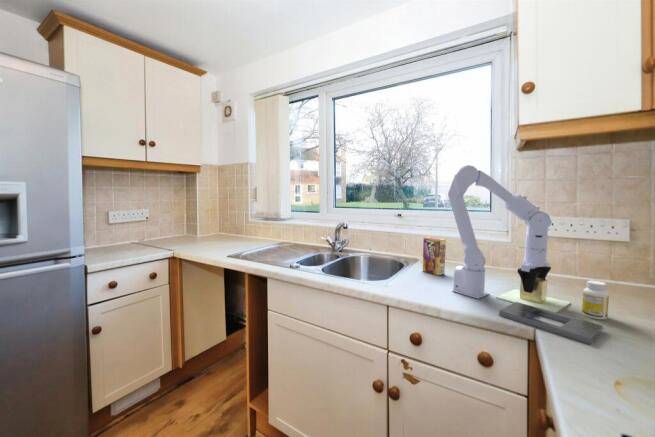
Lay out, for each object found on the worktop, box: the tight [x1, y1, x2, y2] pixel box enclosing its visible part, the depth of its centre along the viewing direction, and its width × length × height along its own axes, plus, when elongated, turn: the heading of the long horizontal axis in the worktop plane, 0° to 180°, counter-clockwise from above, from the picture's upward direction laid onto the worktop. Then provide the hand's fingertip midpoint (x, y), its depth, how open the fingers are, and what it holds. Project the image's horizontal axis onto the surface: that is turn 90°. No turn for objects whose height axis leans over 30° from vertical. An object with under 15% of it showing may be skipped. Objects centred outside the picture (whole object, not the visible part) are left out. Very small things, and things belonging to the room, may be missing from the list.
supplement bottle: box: [581, 280, 610, 320], centre depth 83 cm, size 5×5×10 cm
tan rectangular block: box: [519, 278, 548, 304], centre depth 95 cm, size 6×4×7 cm, turn 35°
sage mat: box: [496, 288, 572, 313], centre depth 95 cm, size 16×14×1 cm
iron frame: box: [498, 302, 604, 346], centre depth 79 cm, size 20×11×2 cm, turn 35°
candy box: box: [422, 236, 447, 276], centre depth 128 cm, size 9×4×15 cm, turn 32°
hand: (533, 289), depth 95 cm, fingers open, 7 cm apart
